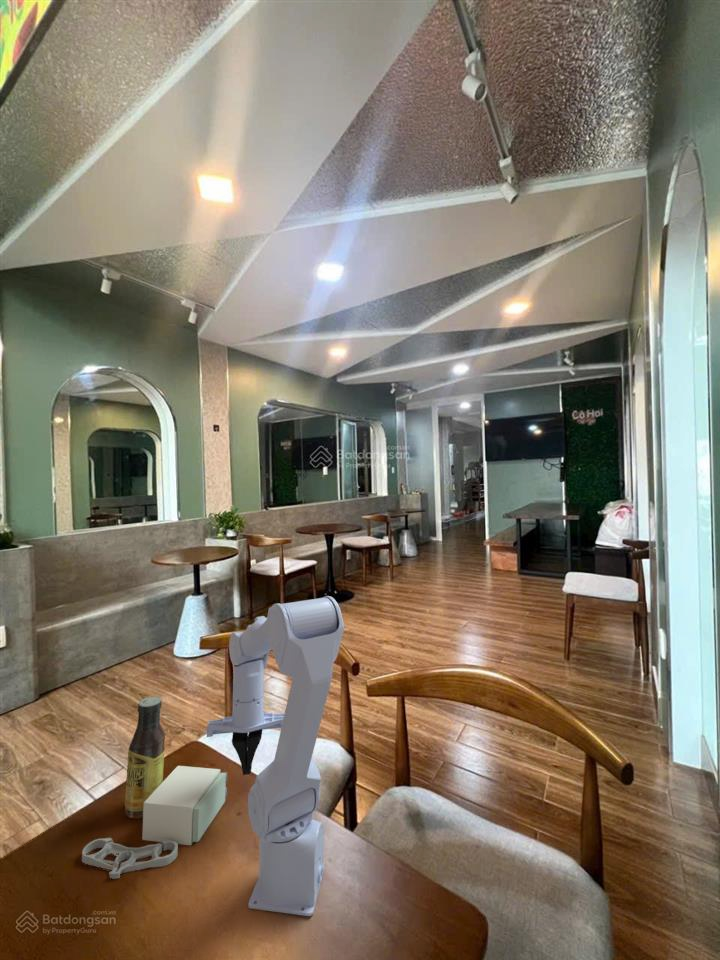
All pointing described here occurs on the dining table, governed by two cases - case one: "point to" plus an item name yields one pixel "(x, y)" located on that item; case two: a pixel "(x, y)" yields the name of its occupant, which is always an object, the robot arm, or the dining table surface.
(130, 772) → the sauce bottle
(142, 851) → the bracket
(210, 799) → the cabinet door
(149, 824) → the cabinet
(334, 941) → the dining table surface
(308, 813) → the robot arm
